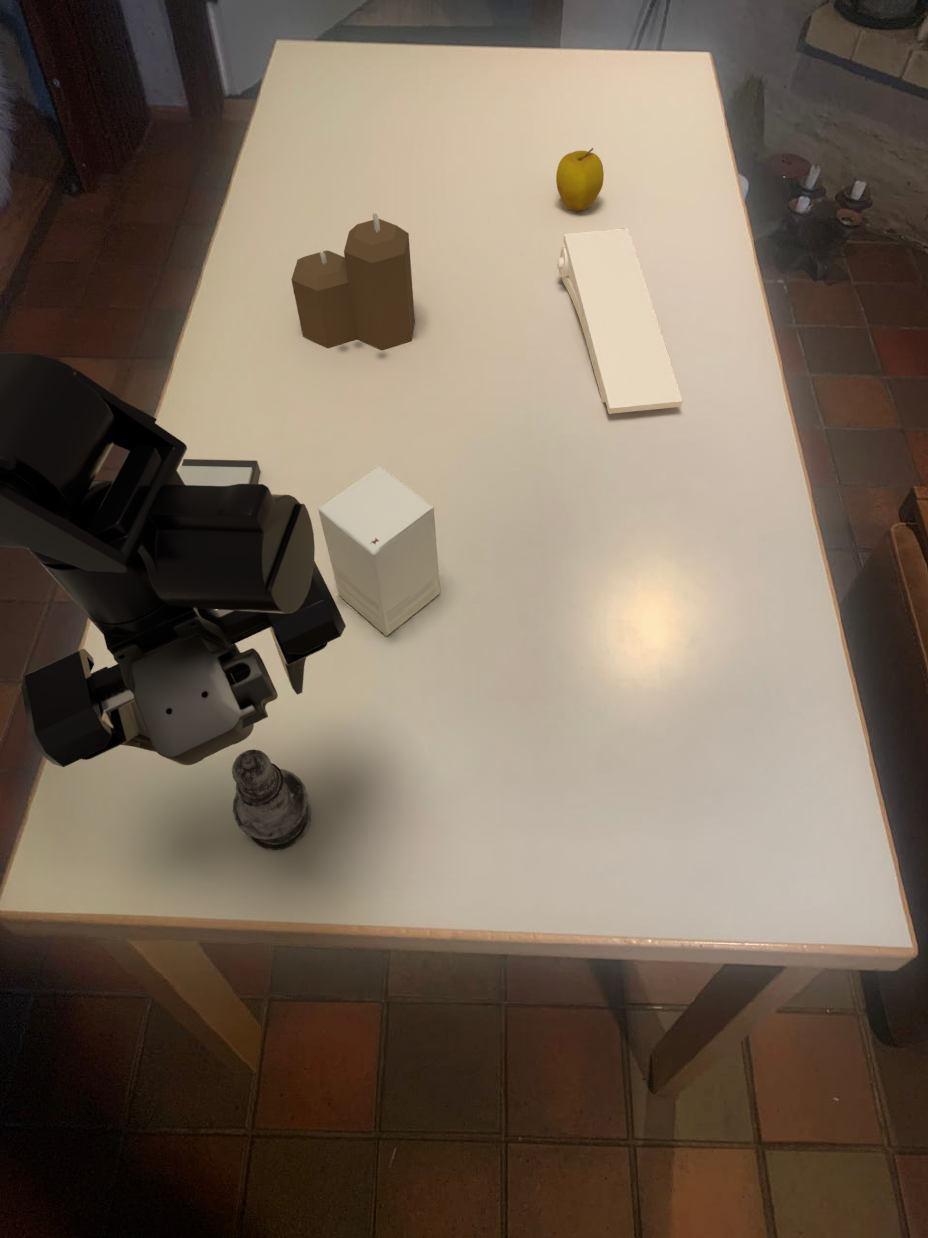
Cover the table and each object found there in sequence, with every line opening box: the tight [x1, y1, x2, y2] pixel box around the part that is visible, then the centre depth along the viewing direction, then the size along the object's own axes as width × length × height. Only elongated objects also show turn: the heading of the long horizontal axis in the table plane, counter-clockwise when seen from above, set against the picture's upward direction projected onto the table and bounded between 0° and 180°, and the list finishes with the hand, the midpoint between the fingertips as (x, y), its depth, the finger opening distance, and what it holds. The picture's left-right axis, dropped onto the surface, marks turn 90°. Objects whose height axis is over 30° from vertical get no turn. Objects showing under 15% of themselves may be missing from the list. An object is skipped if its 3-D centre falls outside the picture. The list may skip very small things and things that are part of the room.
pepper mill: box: [231, 749, 312, 851], centre depth 64 cm, size 6×6×12 cm
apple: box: [555, 147, 605, 211], centre depth 115 cm, size 6×6×8 cm
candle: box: [290, 212, 416, 351], centre depth 99 cm, size 14×14×15 cm
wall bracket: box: [556, 227, 684, 415], centre depth 102 cm, size 10×7×28 cm
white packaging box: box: [317, 465, 441, 637], centre depth 76 cm, size 7×7×13 cm
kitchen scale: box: [178, 458, 261, 486], centre depth 87 cm, size 11×8×2 cm
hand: (235, 718), depth 57 cm, fingers open, 9 cm apart
